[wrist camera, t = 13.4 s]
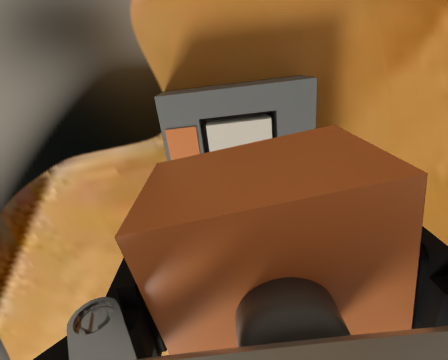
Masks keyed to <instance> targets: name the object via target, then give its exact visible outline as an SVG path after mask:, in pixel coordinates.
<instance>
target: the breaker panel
mask: <svg viewBox="0 0 448 360" xmlns="http://www.w3.org/2000/svg"><path fill="white" fill-rule="evenodd" d="M316 100H317V78H316V77H309V76H302V75H299V76H291V77H283V78H274V79H266V80H258V81H249V82H241V83H232V84H224V85H216V86H207V87H199V88H190V89H182V90H174V91H165V92H163V93H161V94H159V95H157V96H155V103H156V107H157V112H158V117H159V122H160V127H161V131H162V136H163V141H164V146H165V151H166V155H167V160H168V161H170V160H175V159H179V158H184V157H189V156H193V155H198V154H202V153H207V152H209V144H208V137H207V130H206V123H207V118H216V117H224V116H233V115H241V114H250V113H258V112H265V113H266V114H267V115H268V116H270V117H271V121H272V138H275V137H280V136H284V135H289V134H293V133H298V132H303V131H307V130H312V129H316Z"/></svg>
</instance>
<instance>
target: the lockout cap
mask: <svg viewBox="0 0 448 360" xmlns="http://www.w3.org/2000/svg"><path fill="white" fill-rule="evenodd" d="M427 175H428V173H426V172H424V171H422V170H420V169H418V168H416V167H415V166H413V165H411V164H409V163H407V162H405V161H403V160H401V159H399V158H397V157H395V156H393V155H392V154H390V153H388V152H386V151H384V150H382V149H380V148H378V147H376V146H374V145H372V144H370V143H369V142H367V141H365V140H363V139H361V138H359V137H357V136H355V135H353V134H351V133H349V132H347V131H346V130H344V129H342V128H340V127H338V126H336V125H330V126H325V127H321V128H316V129H312V130H307V131H303V132H298V133H293V134H289V135H284V136H280V137H275V138H271V139H266V140H262V141H257V142H252V143H248V144H243V145H239V146H234V147H230V148H225V149H220V150H216V151H211V152H207V153H202V154H198V155H193V156H189V157H184V158H179V159H175V160H170V161H166V162H161V163H157V164H156V166H155V168H154V169H153V171H152V173H151V175H150V176H149V178H148V180H147V182H146V183H145V185H144V187H143V189H142V190H141V192H140V194H139V196H138V197H137V199H136V201H135V203H134V204H133V206H132V208H131V210H130V211H129V213H128V215H127V217H126V218H125V220H124V222H123V223H122V225H121V227H120V229H119V230H118V232H117V234H116V236H115V239H116V241H117V244H118V246H119V248H120V250H121V252H122V254H123V256H124V258H125V261H126V263H127V265H128V267H129V269H130V271H131V273H132V276H133V278H134V280H135V282H136V284H137V286H138V288H139V290H140V293H141V295H142V297H143V299H144V301H145V303H146V305H147V307H148V310H149V312H150V314H151V316H152V318H153V320H154V322H155V324H156V327H157V329H158V331H159V333H160V335H161V337H162V339H163V341H164V344H165V346H166V348H167V350H168V352H169V354H170V355H174V354H182V353H190V352H199V351H208V350H217V349H226V348H235V347H245V346H254V345H263V344H272V343H282V342H291V341H301V340H310V339H320V338H330V337H339V336H349V335H359V334H369V333H379V332H389V331H399V330H409V329H412V319H413V309H414V300H415V290H416V281H417V271H418V261H419V252H420V242H421V233H422V223H423V213H424V204H425V194H426V185H427Z"/></svg>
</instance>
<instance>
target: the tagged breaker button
mask: <svg viewBox="0 0 448 360" xmlns="http://www.w3.org/2000/svg"><path fill="white" fill-rule="evenodd" d="M206 130H207V137H208V144H209V152H211V151H216V150H220V149H225V148H230V147H234V146H239V145H243V144H248V143H252V142H257V141H262V140H266V139H271V138H272V121H271V117H270V116H268V115H267V114H266V113H265V112H258V113H250V114H241V115H233V116H224V117H216V118H207V123H206Z"/></svg>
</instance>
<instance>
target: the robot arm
mask: <svg viewBox="0 0 448 360" xmlns="http://www.w3.org/2000/svg"><path fill="white" fill-rule="evenodd" d="M166 350H167V348H166V346H165V344H164V341H163V339H162V337H161V335H160V333H159V331H158V329H157V327H156V324H155V322H154V320H153V318H152V316H151V314H150V312H149V310H148V307H147V305H146V303H145V301H144V299H143V297H142V295H141V293H140V290H139V288H138V286H137V284H136V282H135V280H134V278H133V276H132V273H131V271H130V269H129V267H128V265H127V263H126V261H125V258H123V260H122V263H121V265H120V267H119V269H118V271H117V273H116V276H115V278H114V280H113V282H112V284H111V286H110V288H109V291H108V293H107V295H106V297H101V298H97V299H94V300H91V301H89V302H88V303H86V304H84V305H83V306H81V307H80V308H79V309H78V310H77V311H76V312H75V313H74V314H73V315H72V317H71V318H70V320H69V322H68V324H67V336H66V337H65V338H63V339H62V340H60V341H59V342H57V343H56V344H55V345H53V346H52V347H50V348H49V349H47V350H46V351H45V352H43V353H42V354H40V355H39V356H37V357H36V358H35V359H33V360H448V246H447V245H446V244H444V243H443V242H442V241H441V240H439V239H438V238H437V237H436V236H434V235H433V234H432V233H430V232H429V231H428V230H427V229H425V228H424V227H423V226H422V233H421V242H420V252H419V261H418V271H417V281H416V290H415V300H414V309H413V319H412V329H409V330H399V331H389V332H379V333H369V334H359V335H349V336H339V337H330V338H320V339H310V340H301V341H291V342H282V343H272V344H263V345H254V346H245V347H235V348H226V349H217V350H208V351H199V352H190V353H182V354H174V355H166V356H161V354H162V352H165V351H166Z"/></svg>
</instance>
